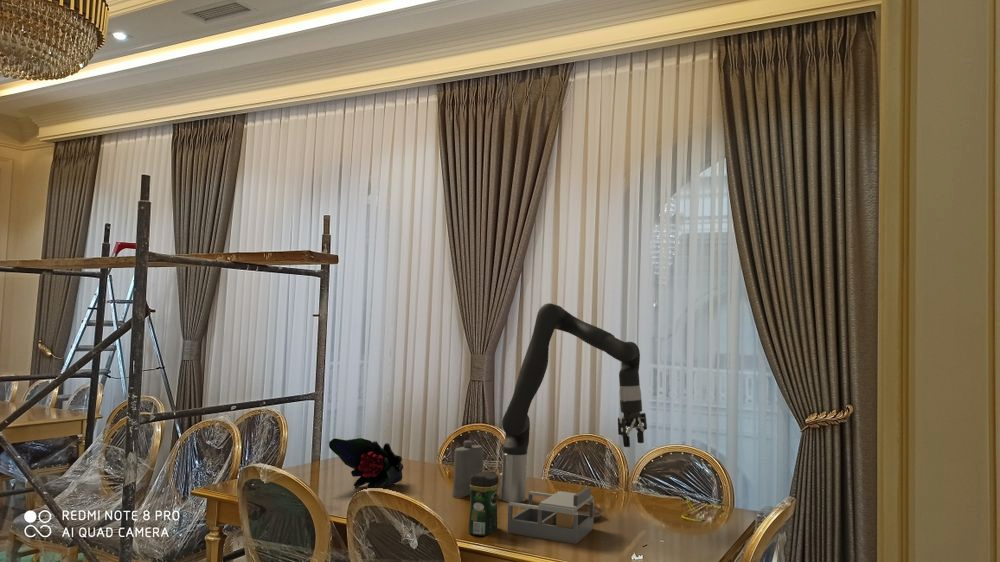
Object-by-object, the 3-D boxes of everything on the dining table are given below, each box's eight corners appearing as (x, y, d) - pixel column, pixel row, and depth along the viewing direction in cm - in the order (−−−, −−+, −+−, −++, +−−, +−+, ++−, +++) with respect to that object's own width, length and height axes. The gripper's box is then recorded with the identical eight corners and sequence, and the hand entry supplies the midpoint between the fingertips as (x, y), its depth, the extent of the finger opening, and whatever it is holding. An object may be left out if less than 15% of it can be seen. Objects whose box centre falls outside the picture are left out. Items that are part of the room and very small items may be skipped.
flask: (472, 489, 273) (474, 438, 275) (484, 492, 270) (486, 439, 272) (448, 496, 261) (450, 442, 262) (460, 498, 258) (462, 444, 259)
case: (507, 535, 213) (508, 502, 214) (528, 521, 229) (529, 491, 230) (576, 547, 204) (577, 512, 205) (593, 531, 221) (594, 499, 221)
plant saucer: (604, 513, 245) (605, 504, 245) (601, 529, 225) (601, 519, 225) (546, 508, 249) (547, 499, 249) (538, 523, 229) (538, 513, 229)
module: (555, 533, 214) (556, 507, 214) (561, 529, 218) (561, 503, 219) (571, 536, 212) (572, 509, 212) (576, 532, 216) (576, 505, 217)
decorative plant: (399, 509, 275) (358, 504, 249) (354, 475, 287) (311, 467, 261) (426, 463, 277) (388, 453, 251) (381, 431, 290) (340, 418, 264)
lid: (538, 508, 209) (538, 493, 209) (559, 495, 227) (560, 481, 227) (574, 513, 204) (574, 498, 205) (592, 500, 222) (593, 485, 223)
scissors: (698, 525, 236) (699, 511, 236) (671, 518, 242) (672, 504, 242) (726, 512, 255) (727, 499, 255) (700, 505, 261) (701, 493, 262)
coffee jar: (478, 527, 221) (480, 468, 223) (500, 530, 218) (502, 470, 219) (463, 534, 213) (466, 473, 214) (487, 538, 209) (489, 476, 211)
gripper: (633, 396, 253) (636, 441, 252) (609, 400, 243) (613, 447, 242) (650, 396, 248) (654, 442, 246) (627, 401, 237) (631, 449, 236)
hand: (633, 444), depth 244 cm, fingers open, 8 cm apart
